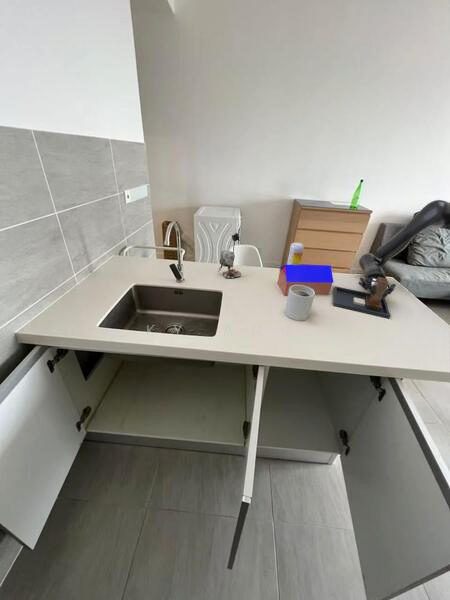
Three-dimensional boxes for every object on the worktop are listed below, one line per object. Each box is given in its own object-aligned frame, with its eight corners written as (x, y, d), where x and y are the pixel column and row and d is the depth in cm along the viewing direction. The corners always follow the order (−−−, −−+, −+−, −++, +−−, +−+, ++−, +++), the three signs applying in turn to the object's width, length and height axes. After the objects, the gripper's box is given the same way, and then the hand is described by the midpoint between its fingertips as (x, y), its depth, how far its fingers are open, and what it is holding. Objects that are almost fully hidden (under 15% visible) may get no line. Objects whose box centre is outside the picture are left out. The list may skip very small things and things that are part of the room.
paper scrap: (363, 301, 100) (364, 299, 100) (364, 306, 97) (365, 304, 96) (353, 299, 101) (354, 297, 101) (353, 303, 98) (354, 301, 98)
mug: (294, 322, 86) (300, 298, 81) (278, 309, 93) (283, 286, 88) (317, 316, 90) (324, 293, 85) (300, 303, 97) (306, 281, 92)
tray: (382, 300, 103) (384, 296, 102) (388, 320, 90) (390, 315, 89) (333, 290, 109) (334, 286, 108) (332, 307, 96) (334, 302, 95)
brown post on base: (377, 302, 100) (389, 277, 94) (380, 312, 94) (392, 286, 88) (364, 299, 102) (374, 274, 96) (366, 308, 95) (377, 283, 89)
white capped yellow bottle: (300, 274, 121) (307, 245, 114) (291, 276, 118) (298, 247, 111) (291, 269, 126) (297, 241, 118) (282, 272, 123) (288, 243, 115)
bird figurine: (218, 271, 120) (219, 230, 109) (240, 272, 120) (244, 231, 110) (217, 278, 113) (218, 235, 103) (241, 279, 113) (245, 237, 103)
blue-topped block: (276, 282, 112) (280, 259, 106) (318, 283, 114) (324, 259, 108) (283, 296, 102) (289, 270, 96) (329, 296, 104) (337, 271, 98)
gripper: (359, 265, 106) (362, 281, 92) (396, 271, 101) (405, 289, 88) (354, 280, 110) (356, 298, 96) (389, 287, 105) (396, 307, 92)
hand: (379, 294), depth 92 cm, fingers closed on brown post on base, 3 cm apart
